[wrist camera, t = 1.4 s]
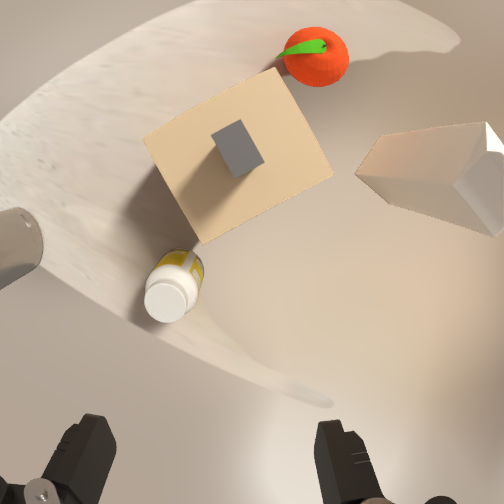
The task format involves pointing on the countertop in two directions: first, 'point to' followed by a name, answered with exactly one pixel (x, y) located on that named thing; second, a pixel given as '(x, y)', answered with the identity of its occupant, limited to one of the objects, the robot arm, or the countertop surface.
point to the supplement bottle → (173, 285)
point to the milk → (442, 174)
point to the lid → (237, 155)
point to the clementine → (315, 56)
